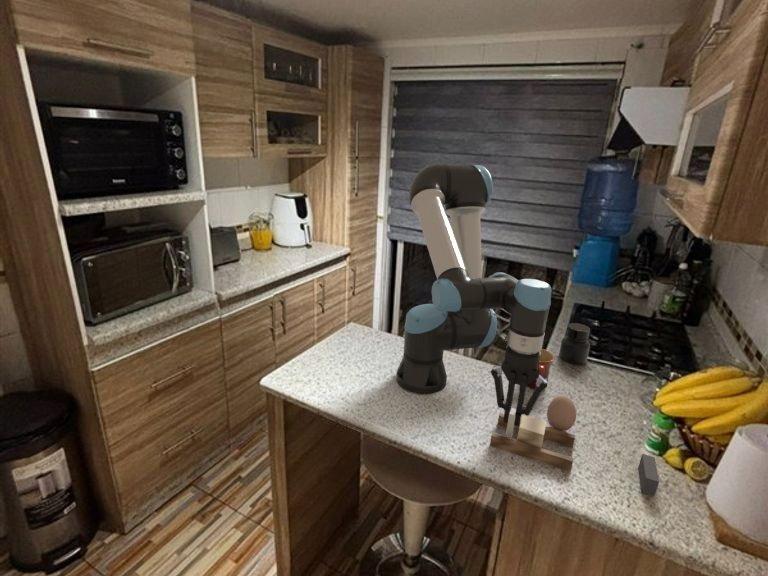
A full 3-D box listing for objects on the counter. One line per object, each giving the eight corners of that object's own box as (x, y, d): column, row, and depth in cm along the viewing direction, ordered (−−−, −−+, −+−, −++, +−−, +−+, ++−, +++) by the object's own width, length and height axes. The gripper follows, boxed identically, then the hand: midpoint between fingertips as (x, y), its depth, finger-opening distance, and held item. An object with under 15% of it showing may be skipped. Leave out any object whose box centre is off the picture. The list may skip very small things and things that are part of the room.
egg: (577, 429, 107) (584, 397, 104) (565, 441, 103) (573, 408, 99) (551, 417, 112) (557, 385, 108) (539, 428, 107) (545, 395, 104)
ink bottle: (591, 359, 143) (598, 328, 139) (582, 369, 137) (589, 335, 133) (563, 349, 149) (569, 319, 145) (553, 358, 143) (559, 326, 139)
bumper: (641, 492, 88) (645, 477, 87) (638, 467, 95) (642, 453, 94) (654, 496, 87) (659, 481, 86) (650, 471, 94) (654, 457, 93)
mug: (517, 375, 131) (521, 346, 128) (546, 379, 130) (551, 349, 126) (521, 396, 120) (526, 365, 117) (553, 401, 119) (559, 369, 115)
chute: (489, 445, 100) (491, 435, 99) (498, 422, 109) (499, 413, 108) (570, 472, 93) (573, 461, 92) (572, 445, 101) (575, 435, 100)
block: (515, 448, 100) (519, 427, 98) (519, 434, 104) (522, 414, 102) (539, 456, 97) (544, 435, 95) (542, 442, 102) (546, 421, 100)
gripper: (491, 347, 94) (479, 434, 101) (552, 361, 88) (535, 452, 96) (498, 334, 100) (486, 417, 108) (555, 347, 95) (539, 433, 103)
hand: (509, 433), depth 102 cm, fingers closed
